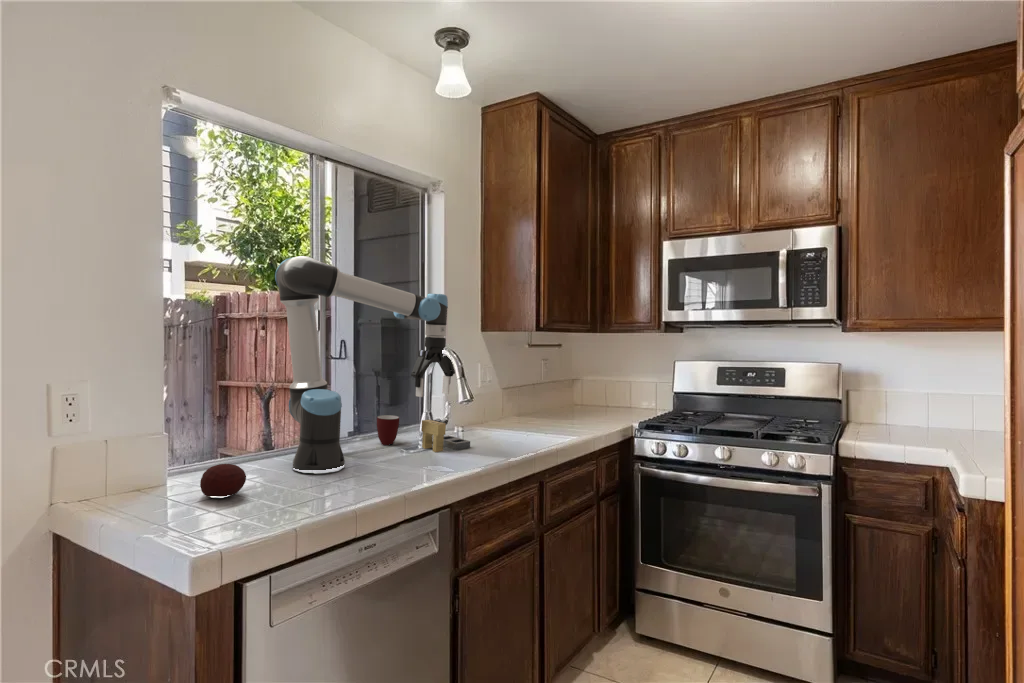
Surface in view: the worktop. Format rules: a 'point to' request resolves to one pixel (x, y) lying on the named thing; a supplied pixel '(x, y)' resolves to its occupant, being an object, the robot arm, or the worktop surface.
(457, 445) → the grey flat block
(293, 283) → the robot arm
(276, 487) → the worktop surface
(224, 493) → the potato
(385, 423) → the mug
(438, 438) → the tan wooden arch block
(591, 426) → the worktop surface
